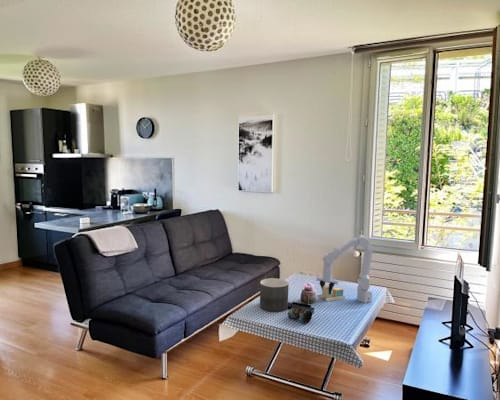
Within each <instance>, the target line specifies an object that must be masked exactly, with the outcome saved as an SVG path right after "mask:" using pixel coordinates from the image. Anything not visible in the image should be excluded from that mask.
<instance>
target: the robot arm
mask: <svg viewBox="0 0 500 400" xmlns="http://www.w3.org/2000/svg"><path fill="white" fill-rule="evenodd" d="M359 246H360V247H361V248H362V249H364V250H363V257H362V264H361V269H360V273H359V276H358V278H357V280H356V283H357V285H358V286H357V288H356V289H357V290H356V291H357V293H356V300H357V301H358V302H362V303H363V304H369V303H372V301H373V293H372V291H371V290H370V287H371V285H370V276H369V275H370V270H371V269H370V268H371V263H372V257H373V253H374V247H373V246H372V244H371V241H370V240H369V239H368V238H367V237H366V236H365V235H363V234H358V235H357V236H353V238H352V239H351V240H349V241H348V242H346V243H345V244H344V245H342V246H341V247H336V248H333V250H332V251H330V252H327V254H325V255H323V258H322V261H323V269H322V272H323V273H322V277H320V276H317V277H316V281H319V285H320V288H321V289H322V287H323V286H325V285H326V283H329V284H328V285H329V294H331V293H332V289H333V288H334V286H335V285H339V280H337V279H333V264H334V261H335V260H337V259H339V258H340V257H342V256H343V254H344V253H345V252H346V251H348V250H350V249H351V248H353V247H359Z"/></svg>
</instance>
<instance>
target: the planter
mask: <svg viewBox="0 0 500 400" xmlns="http://www.w3.org/2000/svg"><path fill="white" fill-rule="evenodd" d="M259 283H260V284H259V285H260V286H259V308H260V309H261V310H263V311H265V312H271V313H277V312H278V313H279V312H284V311H286V310H287V309H288V307H289V306H288V305H289V281H287V280H286V279H283V278H277V277H276V278H274V277H271V278H264V279H261V280H260V281H259Z"/></svg>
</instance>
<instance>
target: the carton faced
mask: <svg viewBox="0 0 500 400" xmlns="http://www.w3.org/2000/svg"><path fill="white" fill-rule="evenodd" d="M331 293H332V297H338V296H344V288H342V287H333V289H332V292H331Z"/></svg>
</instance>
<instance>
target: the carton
mask: <svg viewBox="0 0 500 400" xmlns="http://www.w3.org/2000/svg"><path fill="white" fill-rule="evenodd" d="M321 291H322V292H321V295H322V296H325V297H329V296H330V295H331V294H329V284H325V286H323V287H322V288H321Z"/></svg>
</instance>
